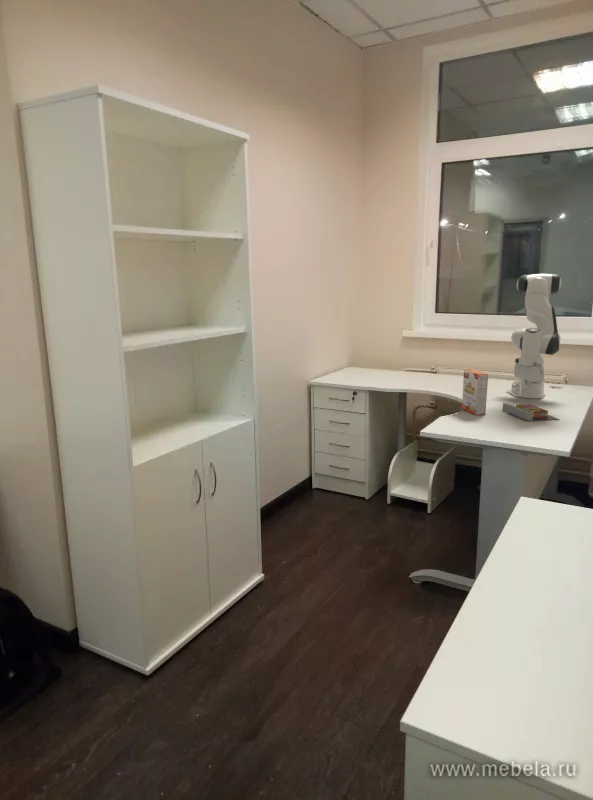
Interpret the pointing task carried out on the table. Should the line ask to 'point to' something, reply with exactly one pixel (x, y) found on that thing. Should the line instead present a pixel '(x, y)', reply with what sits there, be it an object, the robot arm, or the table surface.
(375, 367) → the table surface
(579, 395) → the table surface
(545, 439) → the table surface
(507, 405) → the mat with rail
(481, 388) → the cracker box
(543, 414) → the candy box
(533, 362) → the robot arm
